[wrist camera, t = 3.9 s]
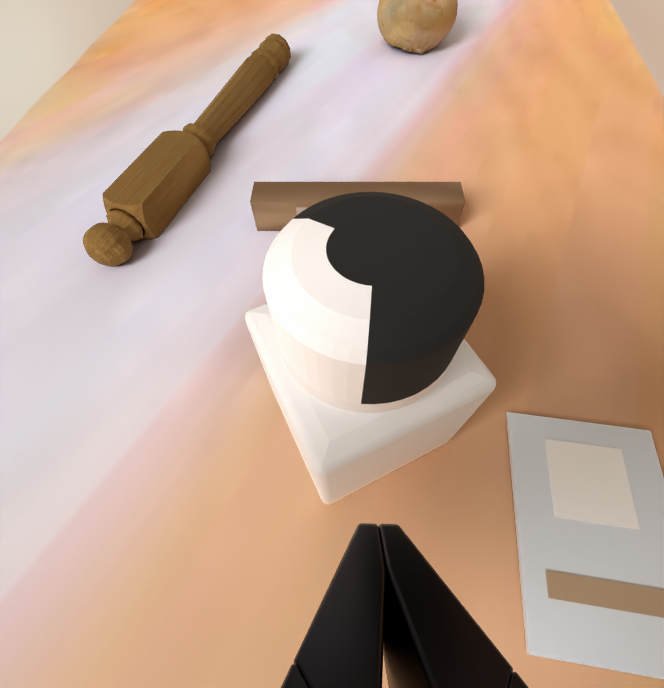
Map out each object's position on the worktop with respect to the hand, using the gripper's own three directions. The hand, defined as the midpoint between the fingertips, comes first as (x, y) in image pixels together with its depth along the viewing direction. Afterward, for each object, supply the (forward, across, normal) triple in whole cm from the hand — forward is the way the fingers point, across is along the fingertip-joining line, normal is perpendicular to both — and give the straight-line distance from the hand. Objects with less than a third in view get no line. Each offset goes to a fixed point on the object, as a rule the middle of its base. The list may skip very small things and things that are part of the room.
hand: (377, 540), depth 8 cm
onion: (+42, -6, -27) cm, 50 cm away
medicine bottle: (+12, 0, +2) cm, 12 cm away
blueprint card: (+8, -11, +6) cm, 15 cm away
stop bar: (+22, 0, -8) cm, 23 cm away
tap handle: (+29, +12, -14) cm, 34 cm away
